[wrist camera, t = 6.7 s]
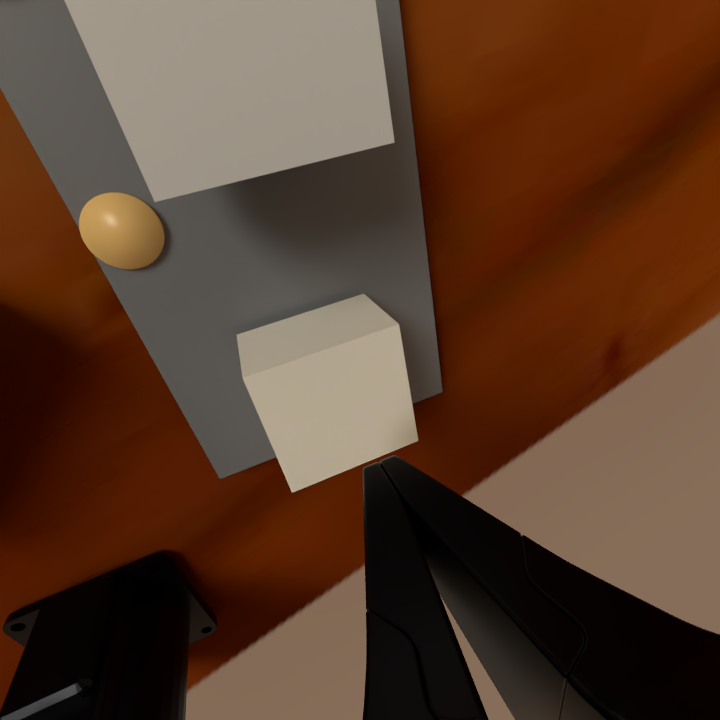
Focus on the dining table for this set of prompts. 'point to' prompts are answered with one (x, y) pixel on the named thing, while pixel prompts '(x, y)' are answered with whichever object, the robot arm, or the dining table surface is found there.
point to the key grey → (237, 84)
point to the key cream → (329, 388)
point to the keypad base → (226, 230)
